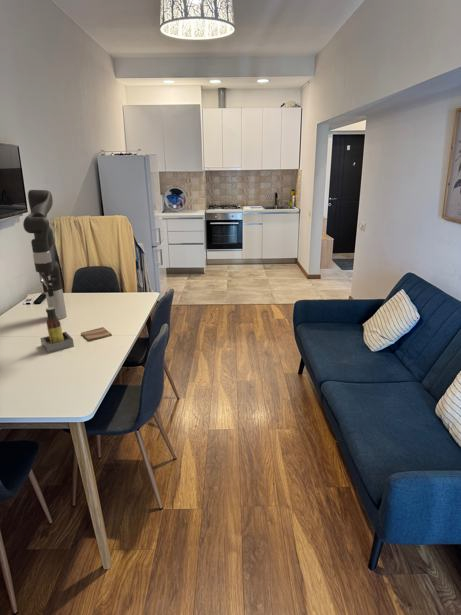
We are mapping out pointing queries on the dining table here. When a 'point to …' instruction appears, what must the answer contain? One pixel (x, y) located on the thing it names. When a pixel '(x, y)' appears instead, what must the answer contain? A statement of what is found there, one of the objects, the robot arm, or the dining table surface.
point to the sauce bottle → (54, 326)
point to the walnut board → (96, 334)
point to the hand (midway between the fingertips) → (48, 294)
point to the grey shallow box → (57, 343)
